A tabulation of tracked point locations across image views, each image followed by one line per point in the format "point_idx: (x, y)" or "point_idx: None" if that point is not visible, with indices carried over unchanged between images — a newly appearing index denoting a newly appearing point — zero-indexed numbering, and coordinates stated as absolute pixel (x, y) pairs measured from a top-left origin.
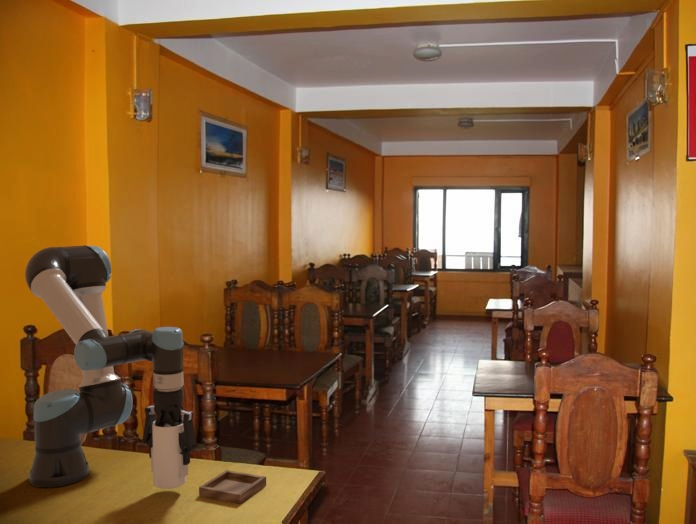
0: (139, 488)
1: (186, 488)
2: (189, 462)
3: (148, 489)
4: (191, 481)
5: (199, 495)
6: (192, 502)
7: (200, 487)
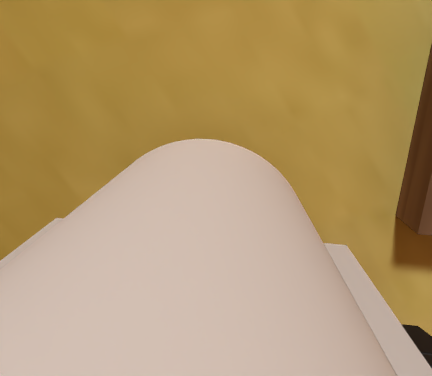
0: (14, 216)
1: (267, 141)
2: (427, 341)
3: (68, 214)
4: (239, 33)
5: (399, 217)
6: (394, 291)
7: (428, 233)
